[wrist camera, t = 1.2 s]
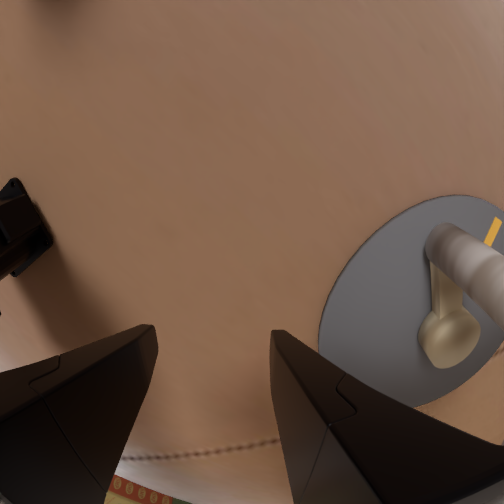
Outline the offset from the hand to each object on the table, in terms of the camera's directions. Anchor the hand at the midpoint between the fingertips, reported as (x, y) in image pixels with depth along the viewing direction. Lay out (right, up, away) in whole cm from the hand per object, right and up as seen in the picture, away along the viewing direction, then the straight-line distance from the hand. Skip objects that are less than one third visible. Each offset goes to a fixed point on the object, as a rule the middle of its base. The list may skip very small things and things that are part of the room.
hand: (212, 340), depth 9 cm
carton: (-15, -37, +28) cm, 49 cm away
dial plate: (+17, -3, +14) cm, 23 cm away
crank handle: (+16, 0, +12) cm, 20 cm away
